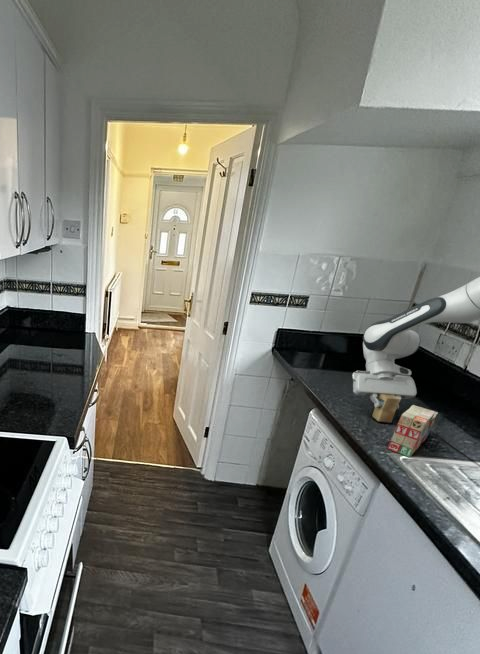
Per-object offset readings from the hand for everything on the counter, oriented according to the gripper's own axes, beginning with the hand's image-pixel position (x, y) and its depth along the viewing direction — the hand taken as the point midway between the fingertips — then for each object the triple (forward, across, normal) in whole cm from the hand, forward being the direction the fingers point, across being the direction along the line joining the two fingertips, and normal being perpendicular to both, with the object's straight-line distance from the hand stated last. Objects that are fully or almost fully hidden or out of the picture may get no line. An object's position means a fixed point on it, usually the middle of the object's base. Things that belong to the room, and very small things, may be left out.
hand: (387, 407), depth 146 cm
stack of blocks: (+15, 0, -6) cm, 16 cm away
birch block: (+3, 0, +4) cm, 5 cm away
